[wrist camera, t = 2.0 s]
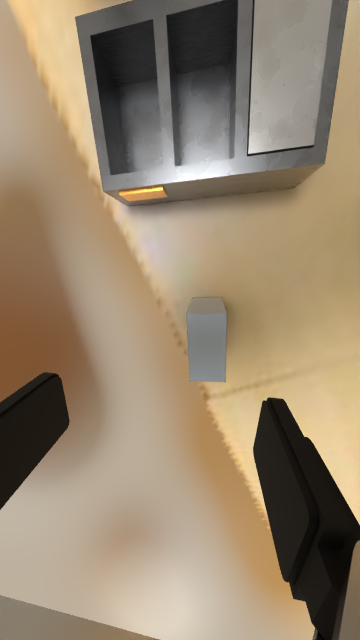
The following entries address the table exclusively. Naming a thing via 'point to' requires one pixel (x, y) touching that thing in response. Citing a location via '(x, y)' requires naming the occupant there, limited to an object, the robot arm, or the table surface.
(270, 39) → the rack
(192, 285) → the table surface
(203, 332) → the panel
